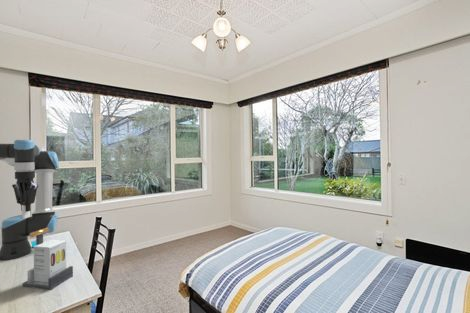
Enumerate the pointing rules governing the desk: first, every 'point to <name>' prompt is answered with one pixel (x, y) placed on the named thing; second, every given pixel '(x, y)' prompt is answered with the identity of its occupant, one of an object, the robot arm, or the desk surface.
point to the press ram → (38, 241)
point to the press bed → (51, 280)
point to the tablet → (33, 243)
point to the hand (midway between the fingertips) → (26, 217)
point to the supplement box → (49, 259)
